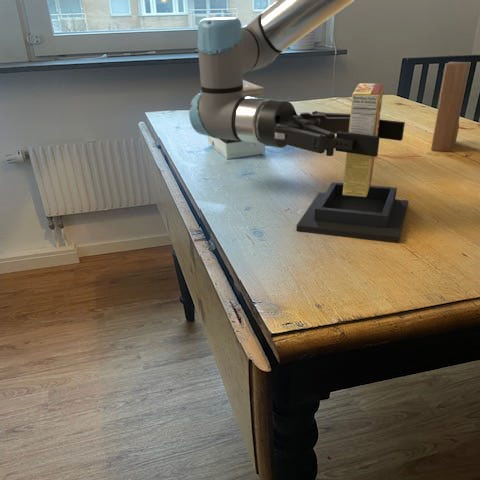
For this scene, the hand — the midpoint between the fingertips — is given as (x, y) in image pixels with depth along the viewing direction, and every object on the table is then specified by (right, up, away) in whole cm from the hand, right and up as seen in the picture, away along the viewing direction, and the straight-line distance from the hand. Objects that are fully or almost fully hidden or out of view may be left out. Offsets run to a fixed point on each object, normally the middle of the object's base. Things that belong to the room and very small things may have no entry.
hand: (390, 138), depth 76 cm
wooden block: (+25, +13, +42) cm, 51 cm away
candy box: (-3, -6, +7) cm, 10 cm away
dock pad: (-4, -10, +8) cm, 14 cm away
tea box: (-24, +14, +46) cm, 54 cm away
